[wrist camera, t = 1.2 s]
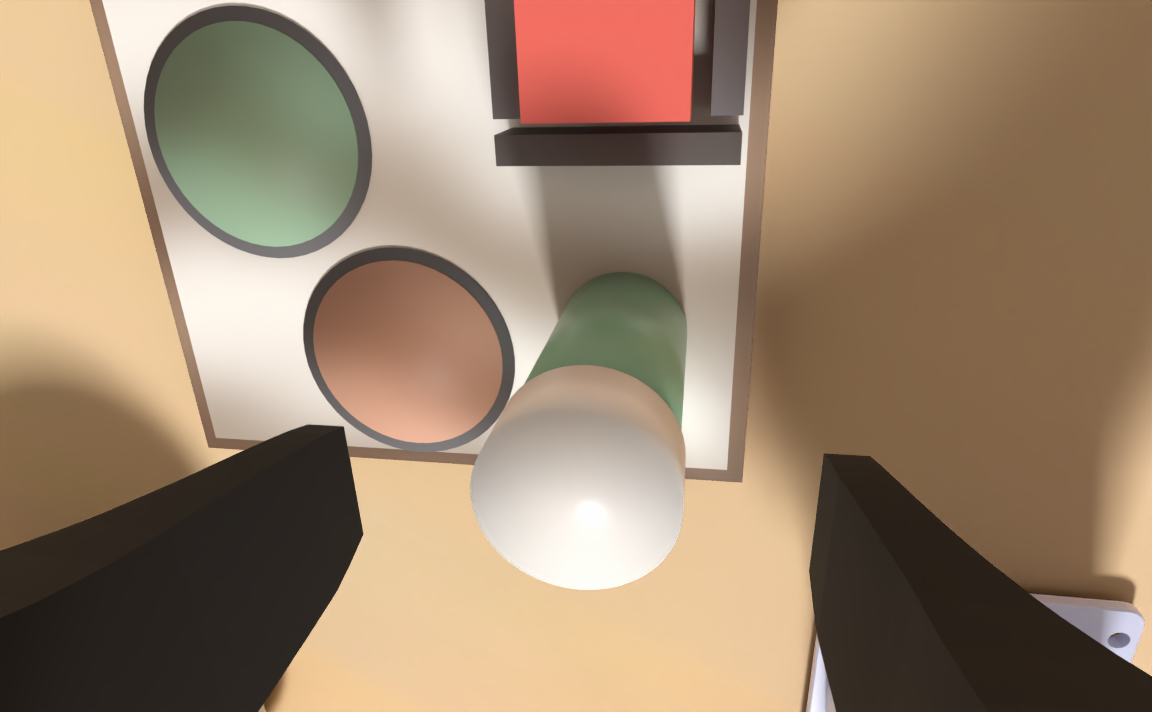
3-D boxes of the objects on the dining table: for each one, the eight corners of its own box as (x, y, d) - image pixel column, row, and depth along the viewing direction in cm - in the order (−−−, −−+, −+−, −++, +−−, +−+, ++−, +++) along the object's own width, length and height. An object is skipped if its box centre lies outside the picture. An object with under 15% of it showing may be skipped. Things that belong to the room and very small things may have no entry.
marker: (689, 396, 17) (680, 598, 11) (559, 390, 18) (479, 580, 11) (694, 268, 16) (686, 414, 10) (554, 266, 17) (460, 402, 10)
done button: (692, 112, 14) (689, 121, 12) (541, 114, 14) (520, 123, 12) (698, -64, 12) (696, -81, 11) (534, -54, 13) (509, -70, 11)
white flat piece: (740, 457, 19) (745, 520, 17) (233, 427, 22) (171, 477, 19) (780, -111, 14) (797, -147, 12) (111, -68, 17) (3, -88, 14)
